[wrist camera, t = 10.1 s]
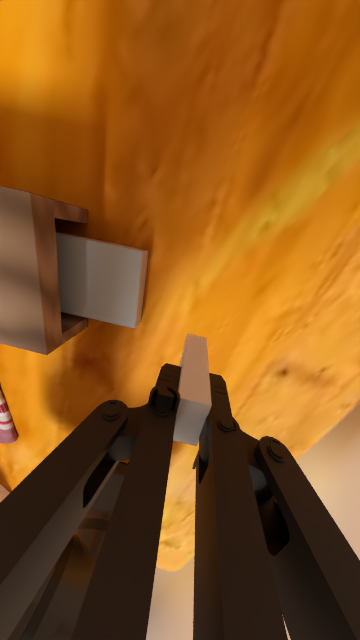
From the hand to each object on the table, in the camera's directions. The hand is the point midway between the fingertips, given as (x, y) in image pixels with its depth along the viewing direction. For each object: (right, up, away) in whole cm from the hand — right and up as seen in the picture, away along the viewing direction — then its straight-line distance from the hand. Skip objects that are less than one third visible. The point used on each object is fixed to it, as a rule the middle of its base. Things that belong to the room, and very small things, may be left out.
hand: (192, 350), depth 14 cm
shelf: (-19, +10, +11) cm, 24 cm away
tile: (-15, +9, +11) cm, 21 cm away
